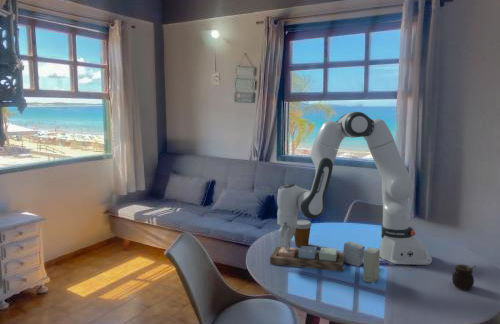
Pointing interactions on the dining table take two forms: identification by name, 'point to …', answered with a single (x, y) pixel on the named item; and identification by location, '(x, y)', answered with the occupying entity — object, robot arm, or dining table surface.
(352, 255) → the medicine box
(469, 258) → the dining table surface
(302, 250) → the tile two
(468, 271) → the mate gourd
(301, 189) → the robot arm
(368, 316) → the dining table surface
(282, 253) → the tile three
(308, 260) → the key frame
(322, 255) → the tile one
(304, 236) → the disposable coffee cup
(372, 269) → the skincare box
